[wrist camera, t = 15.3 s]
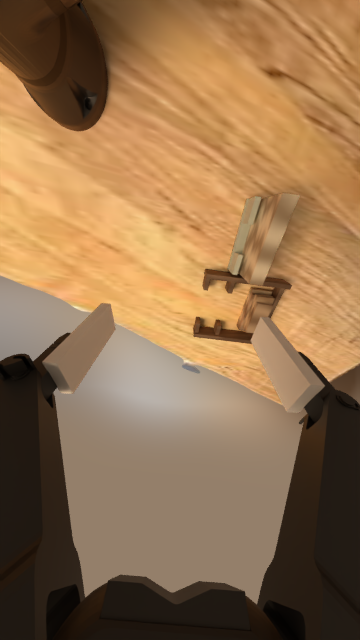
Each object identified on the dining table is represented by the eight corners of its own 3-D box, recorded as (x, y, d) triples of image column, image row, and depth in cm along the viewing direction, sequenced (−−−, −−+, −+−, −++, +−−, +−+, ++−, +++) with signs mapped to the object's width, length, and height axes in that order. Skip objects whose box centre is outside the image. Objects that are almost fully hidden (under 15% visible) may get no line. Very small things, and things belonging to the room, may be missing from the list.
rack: (205, 269, 45) (207, 275, 40) (282, 279, 46) (295, 287, 40) (193, 328, 57) (193, 339, 51) (255, 335, 57) (262, 347, 52)
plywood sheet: (258, 200, 36) (282, 192, 26) (271, 202, 36) (300, 195, 26) (236, 270, 44) (249, 284, 35) (246, 272, 44) (262, 285, 35)
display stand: (246, 199, 36) (254, 196, 32) (280, 204, 37) (293, 201, 32) (227, 268, 45) (231, 274, 40) (254, 272, 45) (262, 278, 40)
